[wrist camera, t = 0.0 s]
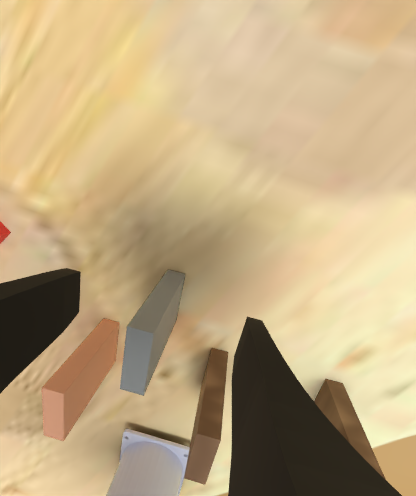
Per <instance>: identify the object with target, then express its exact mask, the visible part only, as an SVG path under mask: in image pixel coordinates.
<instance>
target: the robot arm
mask: <svg viewBox="0 0 416 496" xmlns="http://www.w3.org/2000/svg"><path fill="white" fill-rule="evenodd" d="M80 273H81V272H79V271H75V270H72V269H68V268H66V269H59V270H55V271H50V272H46V273H42V274H38V275H33V276H29V277H25V278H21V279H17V280H13V281H9V282H5V283H0V393H1V392H2V391H3V390H4V389H5V388H6V387H7V386H8V385H9V384H10V383H11V382H12V381H13V380H14V379H15V378H16V377H17V376H18V375H19V374H20V373H21V372H22V371H23V370H24V369H25V368H26V367H27V366H28V365H29V364H30V363H31V362H32V361H33V360H34V359H36V358H37V357H38V356H39V355H40V354H41V353H42V352H43V351H44V350H45V349H46V348H47V347H48V346H49V345H50V344H51V343H52V342H53V341H54V340H55V339H56V338H57V337H58V336H59V335H60V334H61V333H62V332H63V331H64V330H65V329H66V328H67V327H68V325H69V324H70V323H71V322H72V320H73V319H74V318H75V317H76V315H77V314H78V313H79V300H80ZM189 449H190V447H188V446H185V445H181V444H178V443H175V442H171V441H168V440H165V439H161V438H158V437H154V436H151V435H148V434H144V433H141V432H138V431H134V430H131V429H125V430H124V432H123V438H122V445H121V453H120V461H119V465H118V468H117V470H116V473H115V475H114V477H113V480H112V482H111V485H110V487H109V490H108V492H107V494H106V496H179V493H180V490H181V487H182V483H183V480H184V475H185V470H186V465H187V459H188V454H189ZM228 496H402V495H401V494H399V492H398V491H397V490H395V489H394V488H393V487H392V486H391V485H390V484H389V483H388V482H387V481H386V480H385V479H384V478H383V477H382V476H381V475H380V474H379V473H378V472H377V471H376V470H375V469H374V468H373V467H372V466H371V465H370V464H369V463H368V462H367V461H366V460H365V459H364V458H363V457H362V456H361V455H360V454H359V453H358V452H357V451H356V450H355V448H354V447H353V446H352V445H351V444H350V443H349V442H348V441H347V440H346V439H345V438H344V436H343V435H342V434H341V433H340V432H339V431H338V430H337V429H336V428H335V426H334V425H333V424H332V423H331V422H330V421H329V420H328V418H327V417H326V416H325V415H324V414H323V412H322V411H321V410H320V409H319V407H318V406H317V405H316V404H315V402H314V401H313V400H312V399H311V397H310V396H309V395H308V393H307V392H306V391H305V389H304V388H303V387H302V385H301V384H300V382H299V381H298V380H297V378H296V377H295V375H294V374H293V372H292V371H291V369H290V368H289V366H288V365H287V363H286V362H285V360H284V358H283V357H282V355H281V353H280V352H279V350H278V348H277V347H276V345H275V343H274V341H273V339H272V338H271V336H270V334H269V332H268V330H267V329H266V327H265V325H264V323H263V322H262V321H261V320H258V319H254V318H250V317H247V319H246V322H245V325H244V328H243V331H242V334H241V337H240V340H239V343H238V346H237V349H236V352H235V356H234V364H233V373H232V456H231V469H230V481H229V494H228Z"/></svg>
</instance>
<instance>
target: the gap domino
mask: <svg viewBox="0 0 416 496" xmlns="http://www.w3.org/2000/svg"><path fill="white" fill-rule="evenodd" d="M184 279H185V274H183V273H180V272H176V271H172V270H167V271H166V273H165V274H164V276H163V277H162V278H161V280H160V281H159V283H158V284H157V285H156V287H155V288H154V290H153V291H152V292H151V294H150V295H149V296H148V298H147V299H146V301H145V302H144V303H143V305H142V306H141V308H140V309H139V310H138V312H137V313H136V315H135V316H134V317H133V319H132V320H131V322H130V323H129V324H128V326H127V331H126V340H125V349H124V358H123V366H122V375H121V384H120V389H122V390H126V391H129V392H133V393H136V394H140V395H143V396H144V394H145V391H146V389H147V387H148V385H149V382H150V380H151V378H152V375H153V373H154V371H155V368H156V366H157V364H158V361H159V359H160V357H161V355H162V352H163V350H164V348H165V345H166V343H167V341H168V338H169V336H170V334H171V331H172V329H173V327H174V325H175V322H176V319H177V314H178V309H179V304H180V299H181V294H182V289H183V284H184Z"/></svg>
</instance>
